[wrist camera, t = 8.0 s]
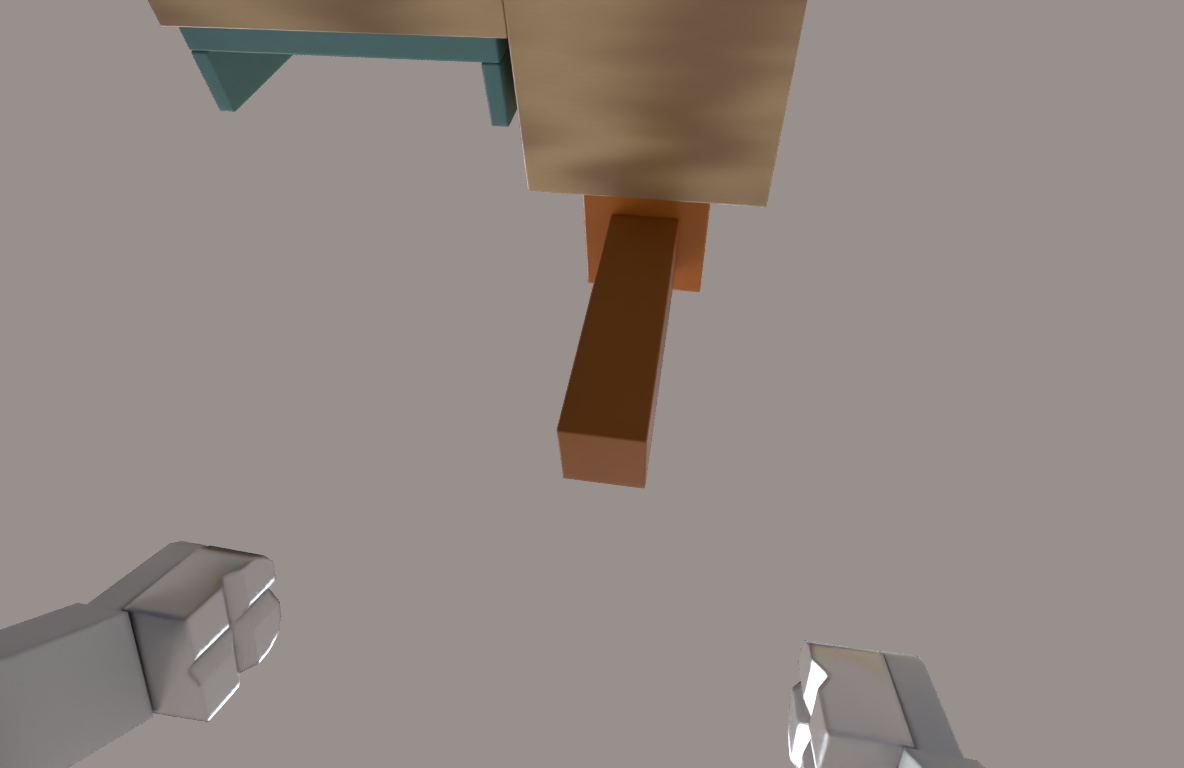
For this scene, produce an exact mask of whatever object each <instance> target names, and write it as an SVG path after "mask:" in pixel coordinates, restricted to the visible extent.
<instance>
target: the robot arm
mask: <svg viewBox="0 0 1184 768" xmlns="http://www.w3.org/2000/svg"><path fill="white" fill-rule="evenodd" d="M275 579H276V575H275V570H274V565H273V561H272V560H271V559H269V558H267V557H266V556H263V555H258V554H253V553H247V552H241V551H236V550H230V549H226V548H220V547H214V546H205V545H201V544H194V543H189V542H183V541H180V542H175V543H170V544H168V545H167V546H166V547H164V548H163V549H162V550H160V551H159V552H158V553H156V554H155V555H153V556H152V557H151V558H149V559H148V560H147V561H145V562H144V563H143V564H141V565H140V566H139V567H137V568H136V569H134V570H133V571H132V572H130V573H129V574H128V575H126V576H125V577H124V578H122V579H121V580H119V581H118V582H117V583H116V584H114V585H113V586H111V587H110V588H109V589H107V590H106V591H104V592H103V593H102V594H100V595H99V596H98V597H96V598H95V599H94V600H92V601H91V602H89V603H88V604H87V605H86V604H80V603H76V604H73V605H71V606H68V607H65V608H62V609H59V610H56V611H53V612H50V613H47V614H44V615H42V616H39V617H36V618H33V619H30V620H27V621H24V622H21V623H19V624H16V625H13V626H10V627H7V628H4V629H1V630H0V768H68V767H70V766H72V765H73V764H75V763H77V762H78V761H80V760H82V759H83V758H85V757H86V756H88V755H90V754H92V753H93V752H95V751H97V750H98V749H100V748H102V747H103V746H105V745H107V744H108V743H110V742H112V741H113V740H115V739H117V738H118V737H120V736H122V735H123V734H125V733H127V732H128V731H130V730H132V729H133V728H135V727H137V726H138V725H140V724H142V723H143V722H145V721H147V720H148V719H150V718H152V717H153V716H154V714H153V713H156V714H162V715H168V716H174V717H181V718H187V719H193V720H199V721H205V722H208V721H209V720H210V719H211V718H212V717H213V716H214V715H215V713H216V712H217V711H218V710H219V709H220V708H221V706H222V705H223V704H224V703H225V702H226V701H227V699H228V698H229V697H230V696H231V695H232V694H233V693H234V691H235V690H236V689H237V688H238V687H239V680H240V673H241V672H243V671H245V670H247V669H249V668H251V667H253V666H255V665H257V664H259V663H260V662H261V660H262V659H263V658H264V657H265V655H266V654H267V653H268V652H269V650H270V649H271V648H272V645H273V643H274V641H275V639H276V636H277V634H278V632H279V628H280V621H281V609H280V602H279V601H278V599H277V598H276V597H275V596H274V594H273V593H272V592H271V590H270V589H269V587H270V586H271V585H272V583H273V582H274V581H275ZM798 666H799V673H800V679H801V681H800V682H799V683H798V684H796V685H795V686H794V687H793V688H792V693H791V699H790V705H789V718H788V740H789V750H790V759H791V761H792V762H793V763H794V765H795V766H796V767H797V768H985V767H983V766H982V765H981V764H980V763H979V762H978V761H976V760H972V759H967V758H964V756H963V754H962V751H961V749H960V747H959V744H958V742H957V740H956V737H955V735H954V733H953V730H952V728H951V725H950V723H949V721H948V718H947V716H946V714H945V711H944V709H943V707H942V704H941V702H940V699H939V697H938V695H937V692H936V690H935V688H934V685H933V683H932V681H931V678H930V676H929V674H928V671H927V669H926V667H925V664H924V662H923V661H922V660H921V659H920V658H919V657H918V656H915V655H907V654H901V653H893V652H885V651H879V652H877V651H872V650H866V649H859V648H852V647H845V646H839V645H832V644H825V643H819V642H812V641H806V640H805V641H804V643H803V645H802V647H801V650H800V655H799V659H798Z"/></svg>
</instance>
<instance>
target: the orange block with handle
mask: <svg viewBox="0 0 1184 768" xmlns="http://www.w3.org/2000/svg"><path fill="white" fill-rule="evenodd" d="M583 206H584V223H585V241H586V258H587V276H588V282H589V283H594V285H593V289H592V292H591V296H590V300H589V305H588V308H587V312H586V316H585V320H584V324H583V328H582V332H581V336H580V340H579V344H578V348H577V352H576V356H575V360H574V364H573V368H572V372H571V375H570V380H569V383H568V387H567V391H566V395H565V399H564V403H563V407H562V411H561V415H560V419H559V423H558V427H557V437H558V444H559V451H560V458H561V466H562V473H563V478H567V479H575V480H582V481H590V482H598V483H605V484H613V485H621V486H629V487H637V488H644V487H645V484H646V476H647V469H648V462H649V454H650V448H651V441H652V433H653V425H654V419H655V412H656V405H657V397H658V389H659V382H660V376H661V369H662V362H663V354H664V347H665V340H666V333H667V326H668V319H669V311H670V304H671V297H672V290H678V291H688V292H699V291H700V285H701V276H702V268H703V260H704V252H705V243H706V235H707V234H706V233H707V228H708V219H709V211H710V203H697V202H682V201H667V200H653V199H638V198H624V197H609V196H595V195H583Z"/></svg>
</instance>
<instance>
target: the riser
mask: <svg viewBox="0 0 1184 768" xmlns="http://www.w3.org/2000/svg"><path fill="white" fill-rule="evenodd" d="M148 1H149V3H150V6H151V7H152V9H153V11H154V13H155V15H156V17H157V19H158V21H159V23H160V25H161V26H170V27H198V28H226V29H254V30H282V31H310V32H338V33H367V34H395V35H423V36H451V37H479V38H508V42H509V49H510V57H511V64H512V72H513V79H514V87H515V95H516V102H517V110H518V117H519V125H520V132H521V140H522V148H523V155H524V162H525V170H526V178H527V185H528V190H529V191H537V192H551V193H566V194H580V195H581V194H582V195H595V196H609V197H624V198H638V199H653V200H667V201H682V202H697V203H711V204H727V205H740V206H755V207H766V205H767V201H768V196H769V191H770V186H771V180H772V176H773V171H774V166H775V161H776V156H777V151H778V145H779V141H780V136H781V130H782V125H783V120H784V115H785V110H786V105H787V100H788V95H789V90H790V85H791V80H792V75H793V70H794V65H795V59H796V54H797V50H798V45H799V40H800V35H801V30H802V25H803V19H804V14H805V9H806V4H807V0H148Z"/></svg>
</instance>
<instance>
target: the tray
mask: <svg viewBox="0 0 1184 768" xmlns="http://www.w3.org/2000/svg"><path fill="white" fill-rule="evenodd" d="M179 29H180V31H181V33H182V35H183V37H184V39H185V41H186V43H187V45H188V47H189V49H190V50H192V55H193V57H194V59H195V61H196V63H197V65H198V67H199V69H200V71H201V73H202V75H203V77H204V79H205V81H206V83H207V85H208V87H209V89H210V91H211V93H212V95H213V97H214V99H215V101H216V103H217V105H218V107H219V109H220V110H221V111H232V112H234V111H236V110H237V109H238V108H239V107H240V106H241V105H242V104H243V103H244V102H245V101H246V100H247V99H248V98H249V97H251V96H252V95H253V93H255V92H256V91H257V90H258V88H260V87H261V85H263V84H264V83H265V82H266V81H267V80H268V79H269V78H270V77H271V76H272V75H273V74H274V73H275V72H276V71H277V70H278V69H279V68H280V67H281V66H282V65H283V64H284V63H285V62H286V61H287V60H288V59H289V58H290V57H291V56H292V55H316V56H340V57H341V56H342V57H365V58H367V57H368V58H389V59H413V60H415V59H416V60H438V61H462V62H482V71H483V77H484V82H485V89H486V95H487V101H488V106H489V113H490V118H491V124H492V126H505V127H507V126H509V125H510V123H511V121H512V118H513V116H514V114H515V112H516V110H517V102H516V95H515V87H514V79H513V72H512V64H511V57H510V49H509V42H508V38H479V37H451V36H423V35H395V34H367V33H338V32H310V31H282V30H254V29H226V28H198V27H179Z"/></svg>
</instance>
